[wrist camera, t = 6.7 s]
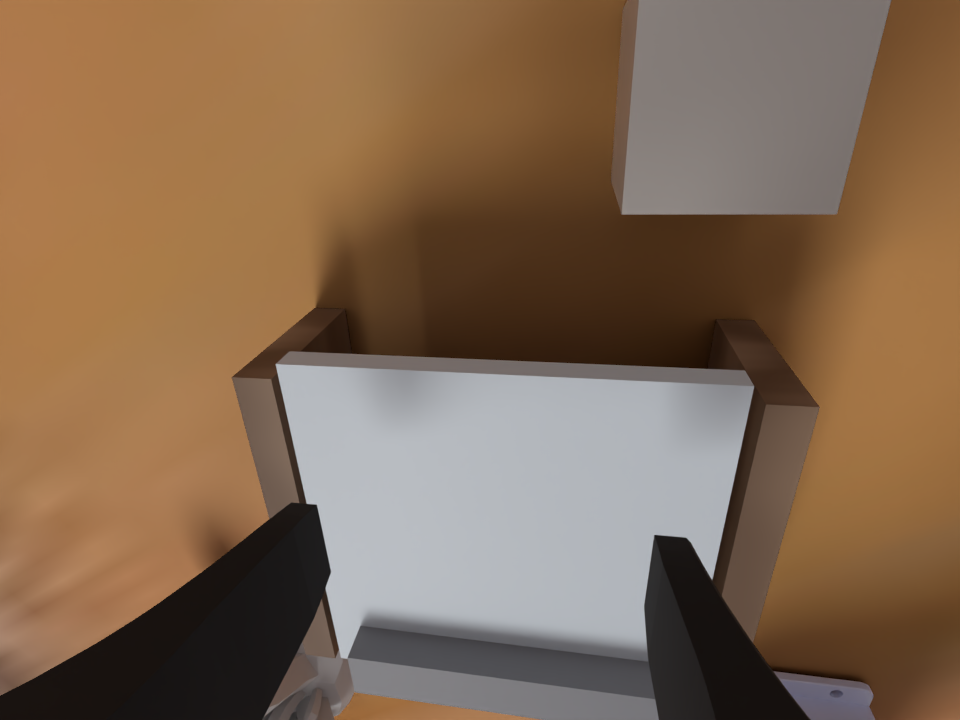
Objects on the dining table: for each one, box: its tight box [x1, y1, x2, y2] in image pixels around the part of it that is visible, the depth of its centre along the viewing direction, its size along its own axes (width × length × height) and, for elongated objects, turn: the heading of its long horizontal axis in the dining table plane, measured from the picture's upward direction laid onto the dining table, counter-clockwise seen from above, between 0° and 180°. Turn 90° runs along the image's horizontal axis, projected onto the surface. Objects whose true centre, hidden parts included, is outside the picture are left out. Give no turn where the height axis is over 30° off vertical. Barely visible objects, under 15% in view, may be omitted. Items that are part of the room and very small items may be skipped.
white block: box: [611, 0, 891, 215], centre depth 13 cm, size 4×4×5 cm
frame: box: [232, 308, 820, 658], centre depth 19 cm, size 15×12×6 cm
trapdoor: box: [276, 351, 754, 720], centre depth 16 cm, size 12×12×2 cm
